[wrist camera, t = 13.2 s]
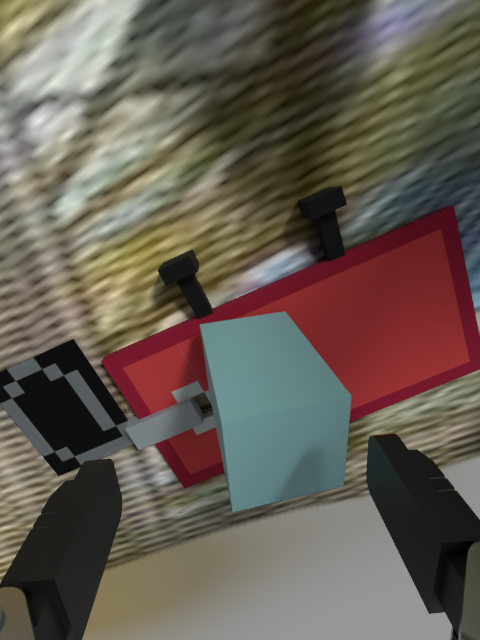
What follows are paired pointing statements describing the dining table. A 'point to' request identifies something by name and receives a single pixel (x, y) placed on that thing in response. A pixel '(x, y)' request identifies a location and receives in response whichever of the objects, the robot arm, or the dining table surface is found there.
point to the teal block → (274, 410)
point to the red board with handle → (282, 295)
